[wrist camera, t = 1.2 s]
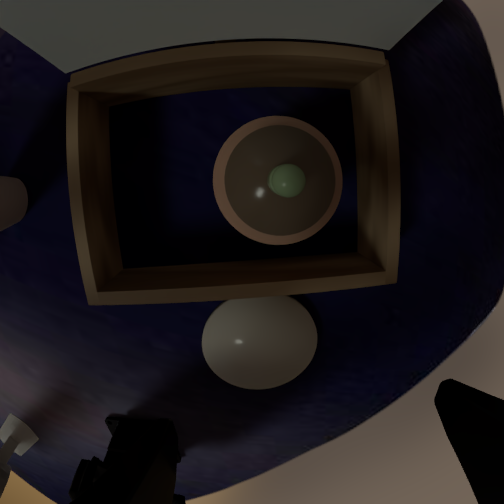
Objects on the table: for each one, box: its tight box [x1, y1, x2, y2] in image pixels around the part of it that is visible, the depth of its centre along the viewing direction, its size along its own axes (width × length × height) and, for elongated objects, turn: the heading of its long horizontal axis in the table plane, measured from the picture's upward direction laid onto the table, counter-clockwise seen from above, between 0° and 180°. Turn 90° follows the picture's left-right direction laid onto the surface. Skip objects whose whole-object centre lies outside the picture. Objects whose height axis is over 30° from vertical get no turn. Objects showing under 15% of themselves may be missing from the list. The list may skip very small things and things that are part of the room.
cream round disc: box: [202, 295, 317, 389], centre depth 21 cm, size 8×8×1 cm
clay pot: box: [213, 116, 343, 245], centre depth 14 cm, size 6×6×9 cm
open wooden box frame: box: [66, 39, 401, 305], centre depth 12 cm, size 16×18×12 cm
